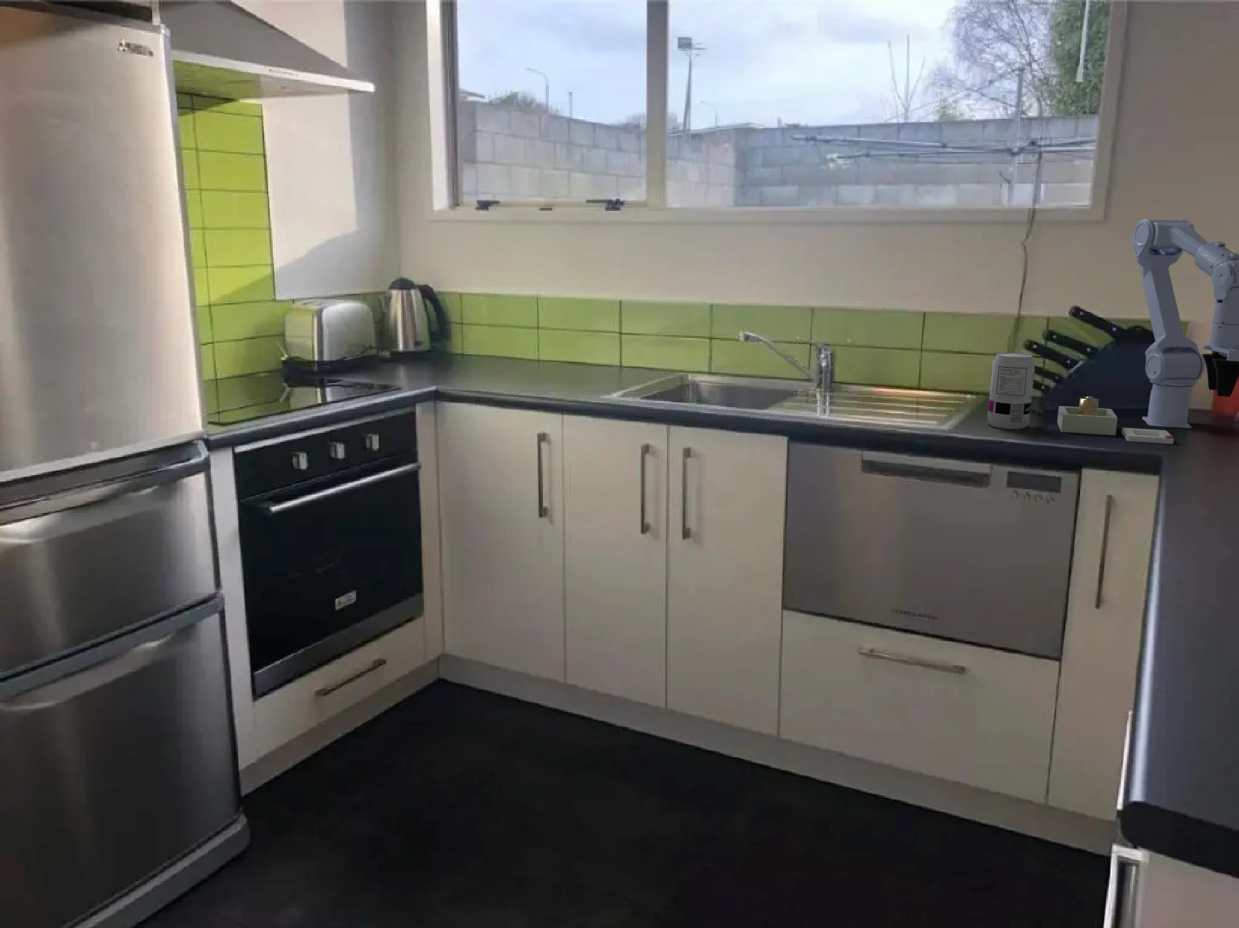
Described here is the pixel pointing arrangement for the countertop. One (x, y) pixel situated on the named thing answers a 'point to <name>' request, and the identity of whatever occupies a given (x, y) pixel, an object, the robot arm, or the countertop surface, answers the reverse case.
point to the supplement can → (1011, 390)
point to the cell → (1088, 406)
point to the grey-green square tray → (1087, 421)
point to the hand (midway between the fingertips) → (1219, 393)
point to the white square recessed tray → (1147, 435)
